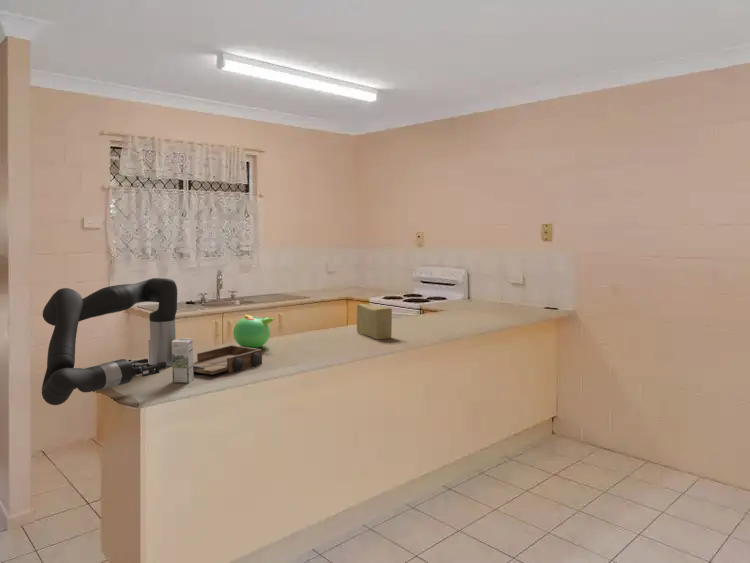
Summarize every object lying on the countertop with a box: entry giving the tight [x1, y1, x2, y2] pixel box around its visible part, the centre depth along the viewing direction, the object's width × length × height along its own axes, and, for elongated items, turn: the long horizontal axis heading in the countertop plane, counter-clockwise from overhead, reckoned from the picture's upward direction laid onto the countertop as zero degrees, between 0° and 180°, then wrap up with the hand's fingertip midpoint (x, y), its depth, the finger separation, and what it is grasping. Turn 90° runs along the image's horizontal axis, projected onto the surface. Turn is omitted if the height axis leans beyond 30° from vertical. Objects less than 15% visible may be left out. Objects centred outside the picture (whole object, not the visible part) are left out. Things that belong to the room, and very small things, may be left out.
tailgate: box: [193, 361, 228, 376], centre depth 209 cm, size 16×8×2 cm, turn 60°
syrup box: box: [171, 338, 194, 384], centre depth 197 cm, size 6×6×14 cm
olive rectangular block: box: [356, 303, 393, 340], centre depth 284 cm, size 22×10×15 cm, turn 37°
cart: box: [196, 345, 263, 374], centre depth 220 cm, size 18×18×6 cm
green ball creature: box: [232, 314, 275, 349], centre depth 253 cm, size 18×17×15 cm
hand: (156, 363), depth 188 cm, fingers open, 8 cm apart
